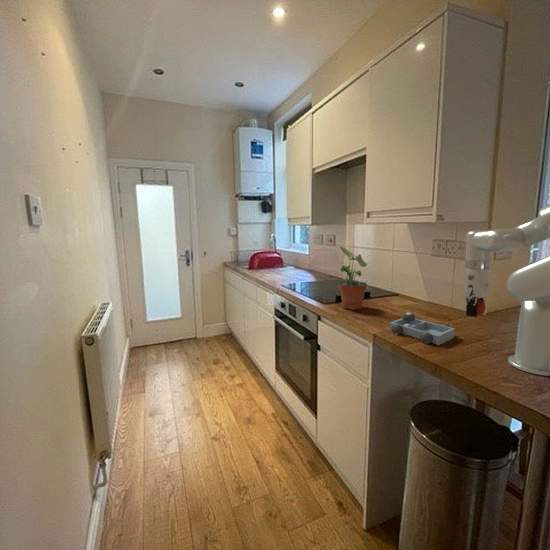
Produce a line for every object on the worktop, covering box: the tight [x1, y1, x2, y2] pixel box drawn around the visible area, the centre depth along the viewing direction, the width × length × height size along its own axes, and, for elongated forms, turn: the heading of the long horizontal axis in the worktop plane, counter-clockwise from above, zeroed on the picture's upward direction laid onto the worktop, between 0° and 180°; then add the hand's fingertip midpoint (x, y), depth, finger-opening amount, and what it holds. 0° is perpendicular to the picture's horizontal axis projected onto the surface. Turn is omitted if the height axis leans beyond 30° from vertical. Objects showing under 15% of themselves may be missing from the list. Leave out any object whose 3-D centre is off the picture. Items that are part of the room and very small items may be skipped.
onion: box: [465, 297, 486, 318], centre depth 110 cm, size 6×6×8 cm
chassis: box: [389, 316, 456, 346], centre depth 123 cm, size 20×17×4 cm
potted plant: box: [338, 246, 369, 310], centre depth 159 cm, size 16×15×35 cm
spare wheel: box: [402, 312, 416, 321], centre depth 127 cm, size 5×5×2 cm
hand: (475, 313), depth 110 cm, fingers closed on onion, 5 cm apart
